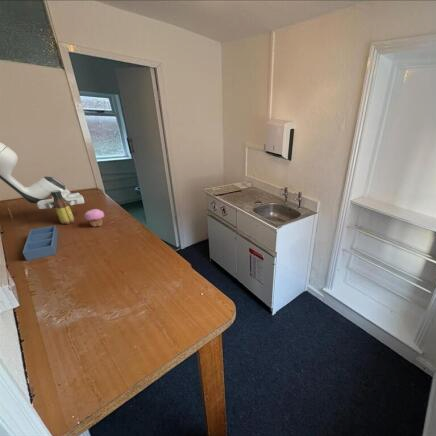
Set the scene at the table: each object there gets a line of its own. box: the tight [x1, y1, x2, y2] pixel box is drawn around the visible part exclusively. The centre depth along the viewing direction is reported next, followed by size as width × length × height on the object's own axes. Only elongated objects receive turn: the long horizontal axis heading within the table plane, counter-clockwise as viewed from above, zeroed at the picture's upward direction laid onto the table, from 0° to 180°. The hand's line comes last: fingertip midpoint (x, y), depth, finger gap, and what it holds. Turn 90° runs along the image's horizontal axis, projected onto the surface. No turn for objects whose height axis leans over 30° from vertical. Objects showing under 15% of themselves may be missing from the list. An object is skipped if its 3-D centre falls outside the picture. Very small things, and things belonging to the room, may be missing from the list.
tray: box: [22, 225, 59, 262], centre depth 113 cm, size 9×27×4 cm, turn 41°
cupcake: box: [83, 208, 105, 228], centre depth 134 cm, size 9×9×10 cm
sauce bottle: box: [51, 190, 76, 225], centre depth 134 cm, size 7×6×20 cm
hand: (61, 205), depth 133 cm, fingers closed on sauce bottle, 6 cm apart
